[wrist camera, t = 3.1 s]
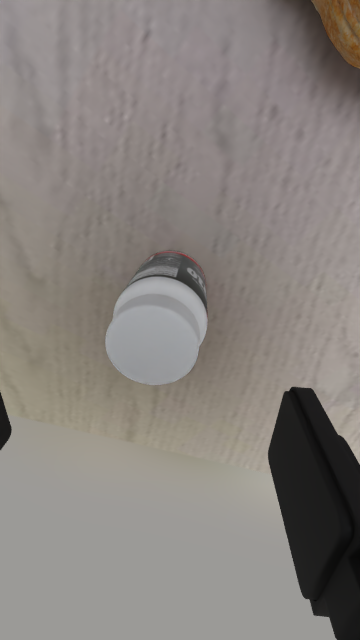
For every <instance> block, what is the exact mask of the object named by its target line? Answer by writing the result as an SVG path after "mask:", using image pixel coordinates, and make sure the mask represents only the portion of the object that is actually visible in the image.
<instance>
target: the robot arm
mask: <svg viewBox="0 0 360 640" xmlns="http://www.w3.org/2000/svg"><path fill="white" fill-rule="evenodd" d="M10 435H11V425H10V422H9V418H8V415H7V412H6V409H5V405H4V402H3V399H2V396H1V392H0V450H1V449H2V447H3V446H4V445H5V443H6V442H7V441H8V439H9V437H10ZM268 460H269V465H270V469H271V473H272V477H273V481H274V485H275V489H276V493H277V497H278V501H279V505H280V509H281V513H282V517H283V521H284V526H285V530H286V534H287V538H288V542H289V546H290V550H291V554H292V558H293V562H294V566H295V570H296V574H297V578H298V582H299V586H300V589H301V592H302V595H303V597H304V598H305V599H310V603H311V606H312V610H313V614H314V615H316V616H324V617H329V618H330V621H331V624H332V628H333V631H334V634H335V638H336V639H337V640H360V464H359V463H358V461H357V459H356V457H355V456H354V454H353V452H352V450H351V449H350V447H349V445H348V443H347V442H346V441H345V439H344V438H343V437H342V436H340V435H338V434H337V432H336V431H335V429H334V427H333V425H332V423H331V421H330V420H329V418H328V416H327V414H326V412H325V411H324V409H323V407H322V405H321V403H320V401H319V400H318V398H317V396H316V394H315V392H314V391H313V389H311V388H300V387H291V389H290V391H285V392H284V394H283V398H282V402H281V405H280V409H279V413H278V417H277V420H276V424H275V428H274V431H273V435H272V439H271V443H270V446H269V451H268Z"/></svg>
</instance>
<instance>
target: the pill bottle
mask: <svg viewBox="0 0 360 640" xmlns="http://www.w3.org/2000/svg"><path fill="white" fill-rule="evenodd" d="M207 324H208V316H207V295H206V280H205V276H204V273H203V271H202V269H201V267H200V266H199V264H198V263H197V262H196V261H195V260H194V259H192V258H191V257H190V256H188V255H186V254H184V253H181V252H176V251H163V252H159V253H156V254H154V255H152V256H151V257H149V258H148V259H147V260H146V261H145V262H144V263H143V264H142V266H141V267H140V268H139V270H138V271H137V273H136V274H135V275H134V277H133V278H132V280H131V281H130V282H129V284H128V285H127V287H126V288H125V289H124V291H123V292H122V293H121V295H120V297H119V298H118V300H117V302H116V305H115V307H114V312H113V320H112V322H111V323H110V325H109V327H108V330H107V333H106V338H105V344H106V351H107V354H108V357H109V359H110V361H111V362H112V364H113V365H114V366H115V367H116V369H117V370H118V371H119V372H120V373H122V374H123V375H125V376H126V377H128V378H130V379H131V380H134V381H136V382H139V383H143V384H148V385H163V384H168V383H172V382H175V381H177V380H179V379H181V378H182V377H184V376H185V375H186V374H187V373H188V372H189V371H190V370H191V369H192V368H193V366H194V364H195V362H196V360H197V357H198V352H199V346H200V345H201V343H202V342H203V340H204V337H205V335H206V330H207Z"/></svg>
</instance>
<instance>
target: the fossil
mask: <svg viewBox="0 0 360 640" xmlns="http://www.w3.org/2000/svg"><path fill="white" fill-rule="evenodd" d="M311 1H312V2H313V4H314V6H315V8H316V10H317V11H318V12H319V14H320V16H321V19H322V22H323V25H324V28H325V30H326V33H327V35H328V37H329V38H330V40H331V41H332V43H333V45H334V46H335V48H336V49H337V50H338V51H339V52H340V54H341V55H342V57H343V58H344V60H346V61H347V63H349V64H351V65H352V66H354V67H357V68H359V69H360V0H311Z"/></svg>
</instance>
